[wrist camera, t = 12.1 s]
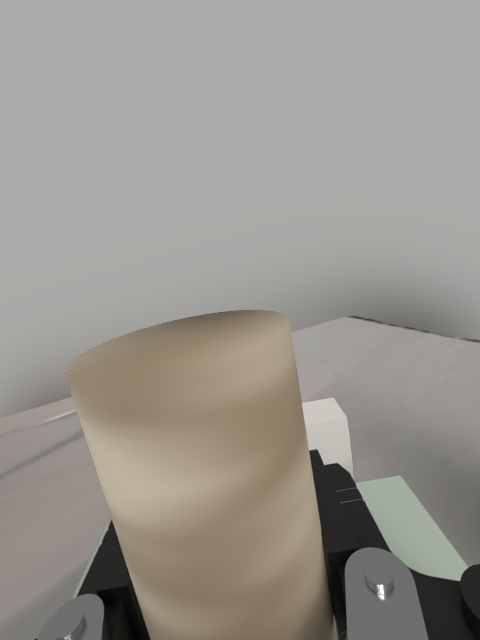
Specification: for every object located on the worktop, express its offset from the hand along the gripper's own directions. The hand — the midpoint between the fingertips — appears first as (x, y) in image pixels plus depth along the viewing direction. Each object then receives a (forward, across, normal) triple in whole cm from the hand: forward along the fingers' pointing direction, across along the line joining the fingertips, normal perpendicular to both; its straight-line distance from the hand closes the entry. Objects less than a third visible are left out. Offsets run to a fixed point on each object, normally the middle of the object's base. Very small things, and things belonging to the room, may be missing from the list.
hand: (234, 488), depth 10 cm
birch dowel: (-3, 0, +8) cm, 8 cm away
